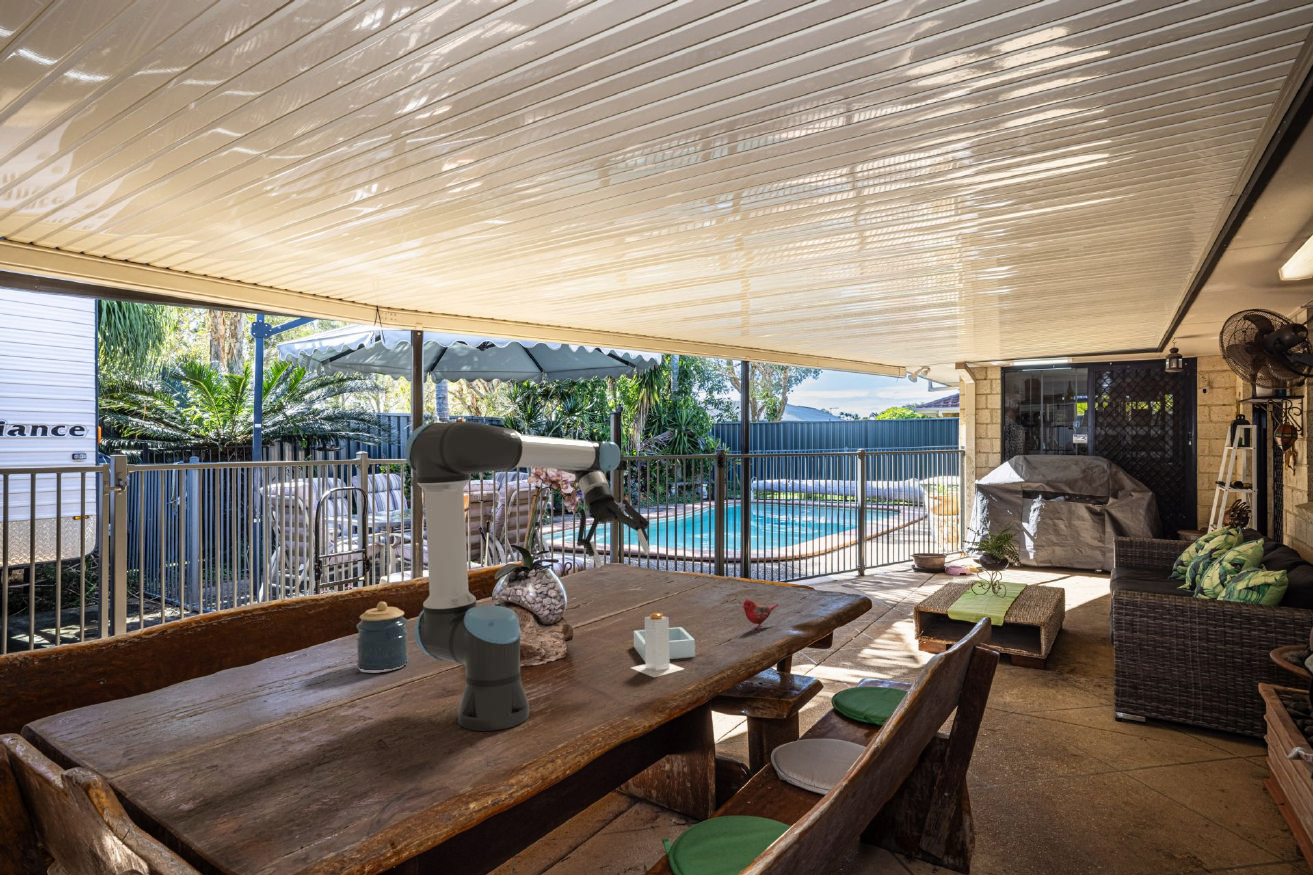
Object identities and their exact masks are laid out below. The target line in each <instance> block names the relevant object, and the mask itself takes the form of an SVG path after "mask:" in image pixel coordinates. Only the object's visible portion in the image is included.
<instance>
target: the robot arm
mask: <svg viewBox="0 0 1313 875" xmlns="http://www.w3.org/2000/svg"><path fill="white" fill-rule="evenodd" d="M404 448H405V449H404V457H405V461H406V463H407V466H408V467H410V468H411V470H412V471H413V472H414V473H416V484H417V485H418V486H419V487H420V488H421V489H422V490H423V491H424V508H425V509H424V511H425V526H426V527H425V530H426V548H427V567H428V568H427V569H428V588H429V595H428V596H427V598H426V599H425V601H423V604H422V606H423V608H422V609H423V610H421V612H420V613H419V615H418V618H417V619H416V621H415V623H414V629H413V630H414V632H413V633H414V639H415V642H416V644H417V647H418V648H419V649H420V651H422V653H424V654H425V655H427V656H429V657H432V658H434V659H436V660H440V661H447V662H452V663H456V664H459V665H463V666H465V688H464V690H463V694H462V696H461V700H460V703H459V706H458V711H457V723H458V725H459V726H460V725H461V726H460V727H462V728H463V727H464V728H463V729H465V730H469V731H477V732H490V731H493V732H494V731H501V730H505V729H509V728H514V727H516V726H518V725H520V724H522V723H524V722H526V720H528V718H529V717H530V703H529V701H528V698H527V695H526V692H525V689H524V687H523V684H522V680H521V628H520V619H519V616H518V613H517V612H515V611H514V610H513V609H510V608H508V607H504V606H501V605H489V604H485V605H477V600H476V598H477V597H476V596H475V595H474V594H472V593H471V592H470V591H469V575H468V574H469V571H468V570H469V569H468V552H467V551H468V550H467V536H466V535H467V533H466V532H467V531H466V530H467V529H466V514H465V512H466V510H465V497H464V496H465V495H464V494H465V493H464V492H465V491H464V489H465V487H466V485H467V484H469V483H470V482H471V480H470V479H471V477H470V475H474V474H483V473H490V472H491V473H492V472H501V471H502V472H503V471H504V472H507V471H509V472H510V471H513V470H515V469H516V468H530V469H531V468H533V469H535V468H536V469H537V468H538V469H551V470H553V469H554V470H557V471H562V472H563V473H564V472H565V473H568V474H570V475H573V476H575V480H577V483H578V485H579V488H580V490H581V493H582V495H583V498H584V500H585V501H584V502H585V503H586V505H587V508H588V510H584V509H580V511H579V512H578V513H579V514H578V518H579V527H578V534H577V540H576V546H578V547H580V546H583V548H585V549H586V552H587V555H588V556H589V557H590V558H591V557H592V559H593V560H594V563H595V566H596V567H597V568H596V569H600V568H601V566H602V560H601V557H600V555H599V552H598V550H597V547H596V544H595V542H594V540H592V538H593V536H594V534H595V532H596V529H597V528H598V525H599V523H600V524H606V523H608V522H610V523H611V522H613V521H616V522H620V523H621V524H623V525H625V526H627V527H629V528H631V529H633V530H634V531H636V536H637V539H638V541H639V543H640V546H641V548H642V550H643V553H644V556H645V555H646V556H647V555H648V554H650V553H649V552H650V547H649V544H648V540H649V536H648V533H647V532H646V530H647V529H648V527H649V524H650V522H649V520H647V519H646V517H644V516H643V515H642V514H641V513H640V512H639V511H637V510H636V509H635V508H634V507H633V506H632V505H630V503H629V502H628V500H627V499H626V498H625V499H623V500H622V501H621V502H616V500H615V497H614V495H613V493H612V489H611V488H610V485H609V483H608V480H607V479H606V478H607V477H606V476H605V473H604V472H607V471H613V470H616V469H617V468H618V467H619V465H620V462H621V449H620V447H619V445H618V444H617V443H615V442H613V441H607V440H605V441H604V440H603V441H595V440H594V441H593V440H585V439H583V440H582V439H573V438H563V437H552V436H545V435H544V436H541V435H533V434H521V433H519V432H518V431H517V430H515V429H513V428H507V427H500V426H496V425H491V424H490V425H489V424H485V423H480V422H473V421H458V422H457V421H453V422H437V421H436V422H431V423H427V424H423V425H421V426H418V427H417V428H415V429H414V431H413V432H412V433H411V434H410V435H409V437H408V439H407V441H406V444H405V447H404ZM620 509H621V510H620ZM623 511H624V512H625V513H626V514H627V515H626V514H624V513H623ZM589 516H590V517H591V518H593V521H592V523H591V526H590V528H589V531H588V533H587V535H586V537H585V538H584V533H585V525H586V520H587V519H588V517H589Z"/></svg>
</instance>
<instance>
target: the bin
mask: <svg viewBox="0 0 1313 875" xmlns="http://www.w3.org/2000/svg"><path fill="white" fill-rule="evenodd" d="M633 647H634V649H635V651H636V652H637V653H638V655H639V656H640V657H641V659H642V661H644V662H645V629H639V630H633ZM695 657H696V640H695V638H694V637H693V636H691V635H690V633H689V632H688V631H686V630H685V629H684V628H683V627H682V626H680V627H679V626H677V627H669V660H673V659H674V660H675V659H686V658H695Z"/></svg>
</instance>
